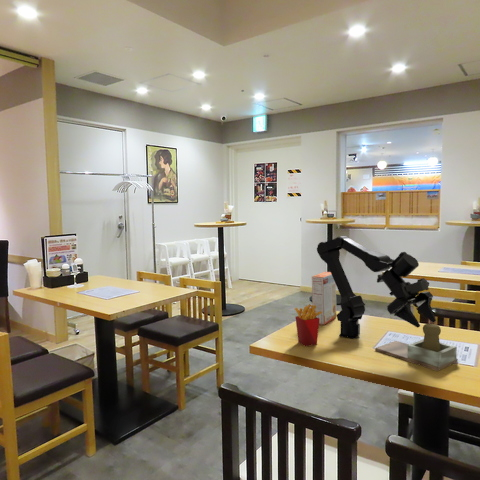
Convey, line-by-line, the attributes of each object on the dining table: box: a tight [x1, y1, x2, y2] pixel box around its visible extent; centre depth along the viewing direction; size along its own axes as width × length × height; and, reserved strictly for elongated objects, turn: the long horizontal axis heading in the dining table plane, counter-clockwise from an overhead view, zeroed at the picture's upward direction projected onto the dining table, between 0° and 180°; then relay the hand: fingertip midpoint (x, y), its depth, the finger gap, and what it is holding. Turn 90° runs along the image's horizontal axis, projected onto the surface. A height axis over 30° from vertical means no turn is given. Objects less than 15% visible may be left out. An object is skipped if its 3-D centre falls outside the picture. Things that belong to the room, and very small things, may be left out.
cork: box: [422, 323, 442, 352], centre depth 127 cm, size 6×6×11 cm
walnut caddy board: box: [374, 338, 459, 372], centre depth 132 cm, size 22×12×5 cm, turn 35°
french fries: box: [294, 303, 322, 347], centre depth 145 cm, size 9×8×15 cm
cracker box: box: [311, 271, 337, 326], centre depth 175 cm, size 14×6×21 cm, turn 145°
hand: (427, 324), depth 128 cm, fingers open, 9 cm apart
